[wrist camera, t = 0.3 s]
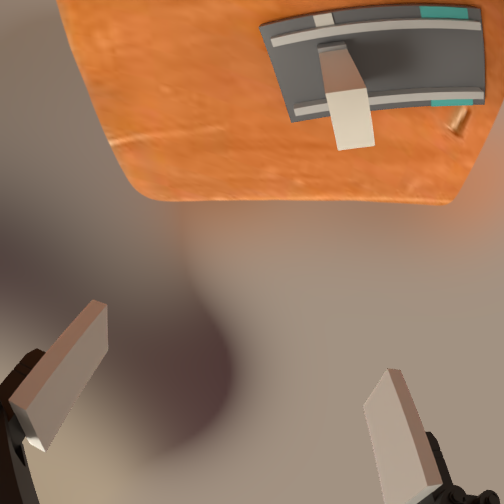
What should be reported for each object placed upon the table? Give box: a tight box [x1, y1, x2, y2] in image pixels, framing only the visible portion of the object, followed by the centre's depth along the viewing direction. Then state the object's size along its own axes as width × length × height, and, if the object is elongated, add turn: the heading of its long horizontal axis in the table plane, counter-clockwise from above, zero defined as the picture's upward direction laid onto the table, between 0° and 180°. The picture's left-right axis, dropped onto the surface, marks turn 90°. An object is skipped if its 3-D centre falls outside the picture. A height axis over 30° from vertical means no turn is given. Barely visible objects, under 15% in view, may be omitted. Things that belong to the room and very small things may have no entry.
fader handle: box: [317, 41, 375, 150], centre depth 26 cm, size 6×3×14 cm, turn 19°
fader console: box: [259, 4, 485, 123], centre depth 28 cm, size 13×26×4 cm, turn 109°
